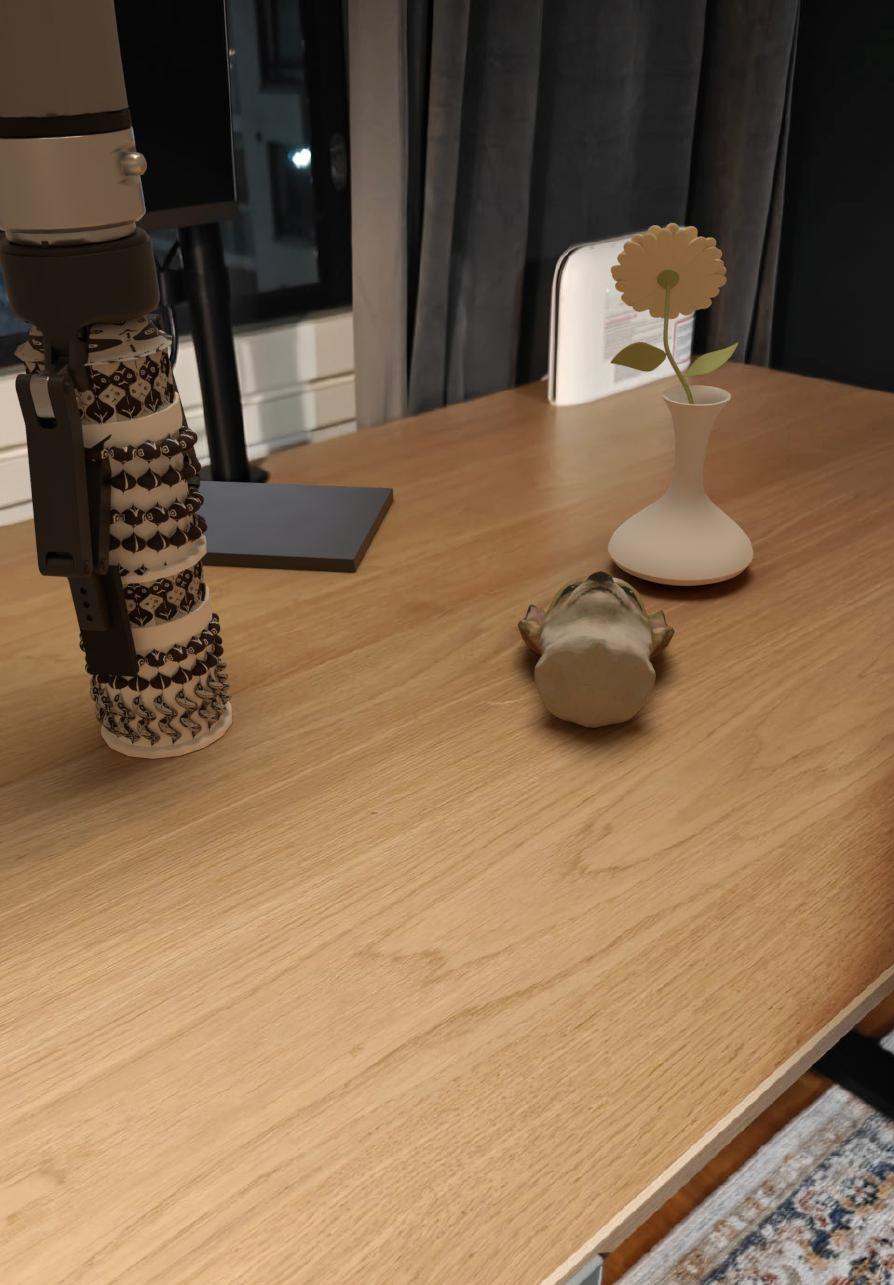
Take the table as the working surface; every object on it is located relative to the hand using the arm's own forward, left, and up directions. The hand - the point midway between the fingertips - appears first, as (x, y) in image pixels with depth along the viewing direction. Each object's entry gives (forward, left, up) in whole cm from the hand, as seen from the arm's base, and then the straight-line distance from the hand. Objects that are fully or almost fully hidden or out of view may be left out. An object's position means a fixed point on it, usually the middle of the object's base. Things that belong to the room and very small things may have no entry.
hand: (149, 629), depth 69 cm
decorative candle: (0, 0, -7) cm, 7 cm away
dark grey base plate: (-4, +32, -7) cm, 33 cm away
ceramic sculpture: (+27, +8, -7) cm, 29 cm away
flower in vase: (+32, +28, -7) cm, 43 cm away
